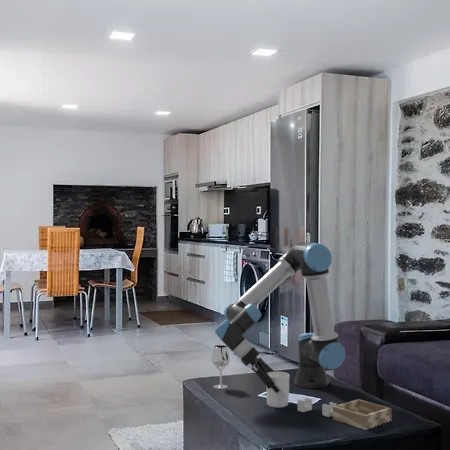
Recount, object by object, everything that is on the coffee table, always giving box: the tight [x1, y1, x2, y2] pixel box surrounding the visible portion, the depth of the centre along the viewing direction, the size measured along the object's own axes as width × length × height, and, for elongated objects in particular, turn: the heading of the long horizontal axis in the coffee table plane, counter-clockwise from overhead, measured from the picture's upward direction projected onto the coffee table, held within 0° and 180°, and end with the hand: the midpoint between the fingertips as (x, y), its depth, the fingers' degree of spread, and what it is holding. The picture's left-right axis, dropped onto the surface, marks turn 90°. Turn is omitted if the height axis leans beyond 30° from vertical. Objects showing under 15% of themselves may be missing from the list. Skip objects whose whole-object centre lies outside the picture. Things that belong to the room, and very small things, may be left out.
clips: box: [297, 397, 338, 418], centre depth 234 cm, size 8×13×4 cm, turn 39°
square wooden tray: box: [332, 398, 392, 431], centre depth 225 cm, size 15×15×5 cm
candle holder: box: [265, 371, 291, 408], centre depth 245 cm, size 10×10×12 cm
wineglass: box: [211, 344, 231, 390], centre depth 271 cm, size 8×8×18 cm
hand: (285, 394), depth 244 cm, fingers closed on candle holder, 9 cm apart
